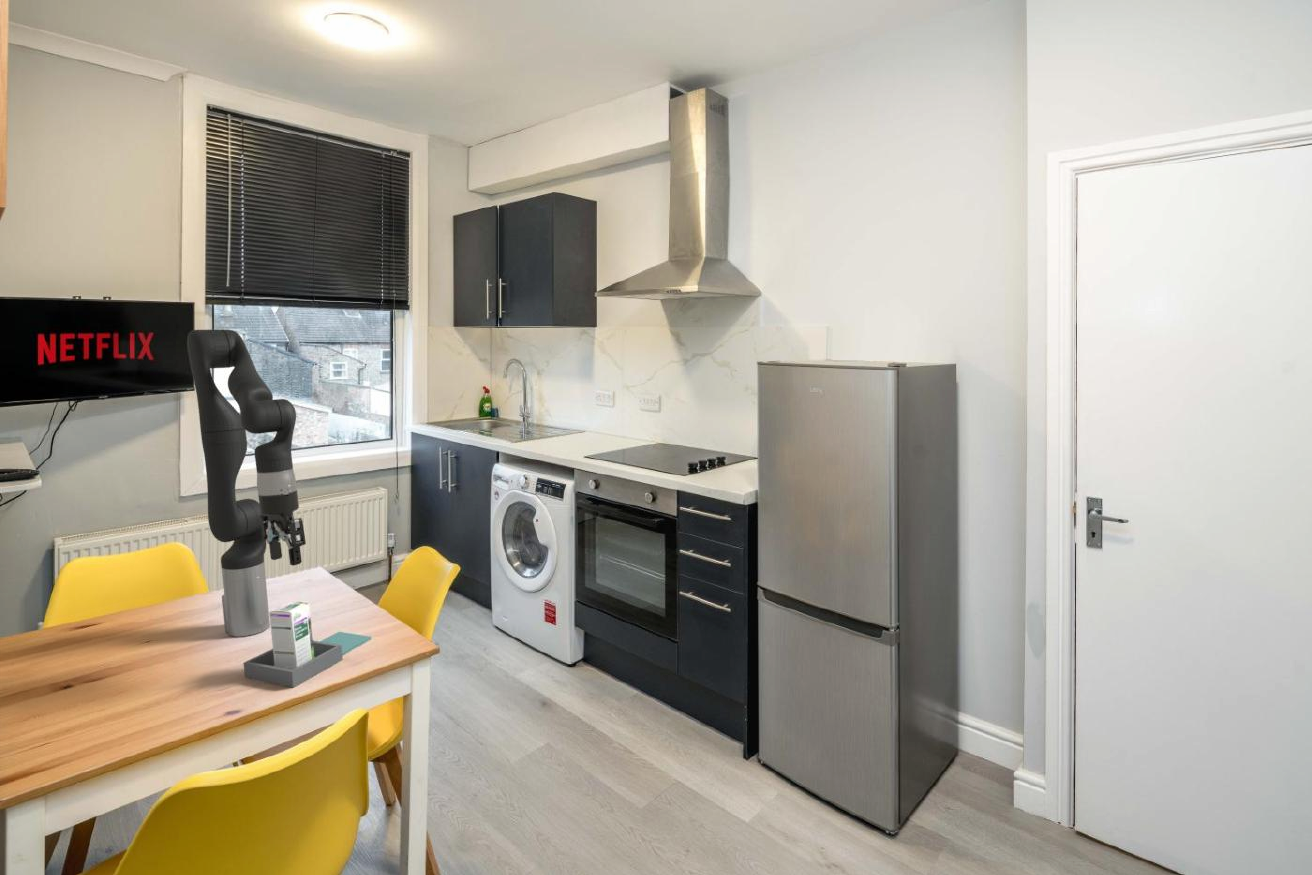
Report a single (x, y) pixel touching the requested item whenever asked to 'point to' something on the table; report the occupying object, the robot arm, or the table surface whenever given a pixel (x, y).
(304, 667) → the bin
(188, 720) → the table surface
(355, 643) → the mat
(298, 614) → the syrup box
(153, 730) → the table surface
